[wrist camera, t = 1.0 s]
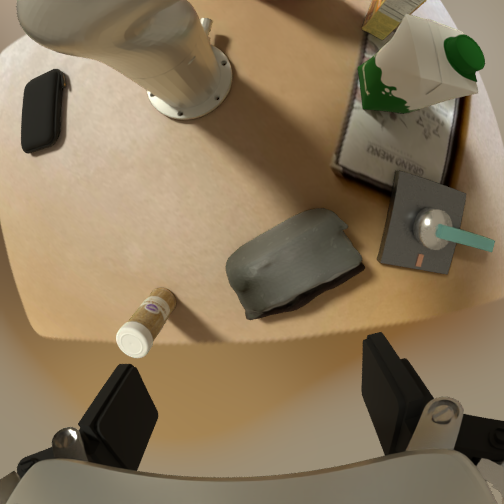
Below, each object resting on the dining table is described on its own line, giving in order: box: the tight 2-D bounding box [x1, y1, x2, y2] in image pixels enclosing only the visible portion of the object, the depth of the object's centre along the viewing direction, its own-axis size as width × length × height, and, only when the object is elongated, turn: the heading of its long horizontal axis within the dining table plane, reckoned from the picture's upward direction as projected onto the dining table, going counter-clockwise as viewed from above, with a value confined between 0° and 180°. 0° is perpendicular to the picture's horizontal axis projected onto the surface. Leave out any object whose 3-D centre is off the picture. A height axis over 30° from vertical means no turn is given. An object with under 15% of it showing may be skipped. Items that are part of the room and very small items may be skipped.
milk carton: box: [358, 14, 485, 114], centre depth 25 cm, size 9×9×20 cm
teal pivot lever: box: [413, 207, 495, 252], centre depth 37 cm, size 6×16×4 cm, turn 81°
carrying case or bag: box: [21, 69, 66, 153], centre depth 35 cm, size 11×3×15 cm
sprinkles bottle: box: [116, 288, 176, 358], centre depth 38 cm, size 5×5×14 cm
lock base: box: [377, 171, 466, 274], centre depth 39 cm, size 14×14×2 cm
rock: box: [226, 208, 365, 320], centre depth 39 cm, size 18×11×8 cm, turn 121°
